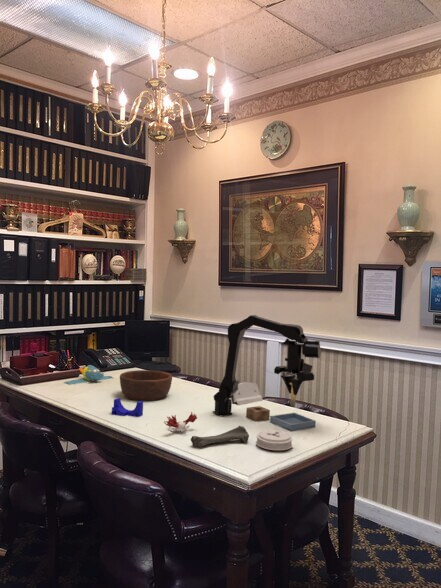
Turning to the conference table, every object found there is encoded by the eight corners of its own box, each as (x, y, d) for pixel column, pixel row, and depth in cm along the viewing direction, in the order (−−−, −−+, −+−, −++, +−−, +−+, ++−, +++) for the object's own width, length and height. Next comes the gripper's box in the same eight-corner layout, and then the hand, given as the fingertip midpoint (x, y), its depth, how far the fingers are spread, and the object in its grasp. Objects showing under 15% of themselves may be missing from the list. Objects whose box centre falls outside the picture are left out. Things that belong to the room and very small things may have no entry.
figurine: (184, 424, 197) (185, 407, 197) (203, 431, 188) (204, 414, 188) (153, 430, 187) (153, 413, 187) (171, 439, 178) (172, 420, 178)
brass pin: (292, 407, 200) (292, 383, 199) (286, 405, 203) (287, 381, 202) (298, 406, 201) (299, 382, 201) (293, 404, 204) (293, 381, 204)
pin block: (255, 421, 204) (256, 412, 204) (246, 417, 210) (246, 407, 210) (269, 419, 208) (269, 410, 208) (259, 415, 214) (259, 406, 214)
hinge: (237, 405, 229) (233, 383, 231) (231, 406, 232) (227, 385, 234) (263, 400, 239) (259, 379, 242) (256, 401, 243) (252, 381, 245)
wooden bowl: (108, 398, 232) (109, 376, 231) (136, 387, 255) (137, 368, 255) (155, 405, 222) (156, 383, 222) (180, 394, 246) (181, 373, 245)
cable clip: (111, 414, 206) (112, 400, 206) (116, 412, 210) (117, 398, 210) (137, 418, 202) (138, 403, 202) (142, 415, 207) (143, 401, 207)
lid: (282, 455, 167) (283, 441, 167) (249, 447, 174) (250, 433, 173) (297, 445, 177) (298, 432, 177) (266, 438, 184) (266, 425, 184)
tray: (290, 431, 193) (290, 424, 193) (270, 422, 204) (270, 416, 204) (315, 426, 200) (315, 420, 200) (294, 418, 211) (294, 412, 211)
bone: (243, 438, 183) (244, 422, 183) (252, 444, 177) (253, 427, 177) (188, 445, 174) (189, 428, 173) (195, 451, 168) (196, 433, 168)
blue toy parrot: (105, 360, 281) (121, 365, 271) (104, 375, 282) (120, 381, 271) (60, 365, 261) (75, 371, 251) (59, 382, 261) (74, 388, 251)
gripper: (325, 358, 198) (323, 397, 198) (294, 351, 214) (293, 387, 214) (304, 360, 192) (302, 400, 192) (273, 353, 208) (272, 390, 208)
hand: (293, 394), depth 202 cm, fingers closed on brass pin, 3 cm apart
